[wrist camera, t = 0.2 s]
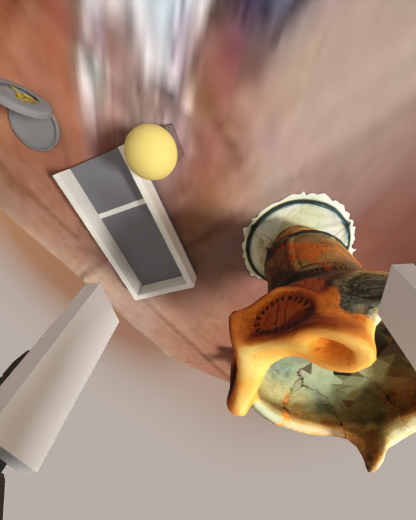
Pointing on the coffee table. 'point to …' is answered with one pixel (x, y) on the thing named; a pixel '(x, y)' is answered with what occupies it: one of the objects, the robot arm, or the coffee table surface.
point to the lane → (129, 224)
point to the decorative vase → (318, 333)
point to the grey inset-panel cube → (173, 133)
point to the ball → (150, 151)
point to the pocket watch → (29, 116)
